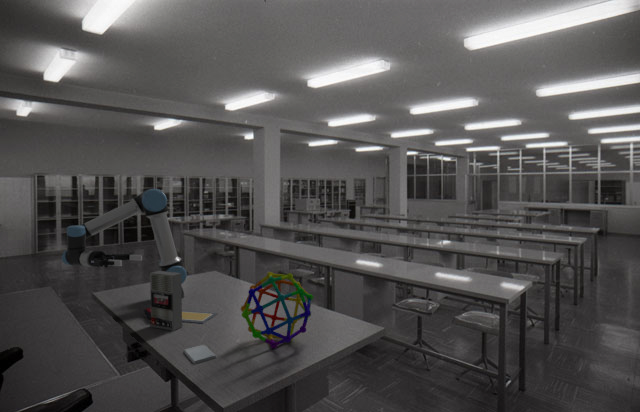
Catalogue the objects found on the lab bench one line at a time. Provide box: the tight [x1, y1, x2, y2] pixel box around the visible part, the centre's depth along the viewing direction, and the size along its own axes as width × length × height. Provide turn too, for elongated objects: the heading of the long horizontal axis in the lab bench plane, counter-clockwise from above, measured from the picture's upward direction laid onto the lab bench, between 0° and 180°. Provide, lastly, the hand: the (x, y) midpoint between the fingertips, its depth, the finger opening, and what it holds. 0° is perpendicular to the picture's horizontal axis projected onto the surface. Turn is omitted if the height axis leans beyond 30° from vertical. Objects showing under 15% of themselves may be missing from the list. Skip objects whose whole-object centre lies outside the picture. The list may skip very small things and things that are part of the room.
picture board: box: [182, 309, 218, 324], centre depth 183 cm, size 14×21×1 cm, turn 78°
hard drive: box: [183, 344, 217, 365], centre depth 141 cm, size 2×8×12 cm
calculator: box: [143, 307, 151, 321], centre depth 184 cm, size 11×4×15 cm
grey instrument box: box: [149, 270, 184, 332], centre depth 169 cm, size 14×6×25 cm, turn 67°
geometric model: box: [240, 271, 314, 349], centre depth 151 cm, size 30×30×30 cm
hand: (131, 260), depth 173 cm, fingers open, 13 cm apart
